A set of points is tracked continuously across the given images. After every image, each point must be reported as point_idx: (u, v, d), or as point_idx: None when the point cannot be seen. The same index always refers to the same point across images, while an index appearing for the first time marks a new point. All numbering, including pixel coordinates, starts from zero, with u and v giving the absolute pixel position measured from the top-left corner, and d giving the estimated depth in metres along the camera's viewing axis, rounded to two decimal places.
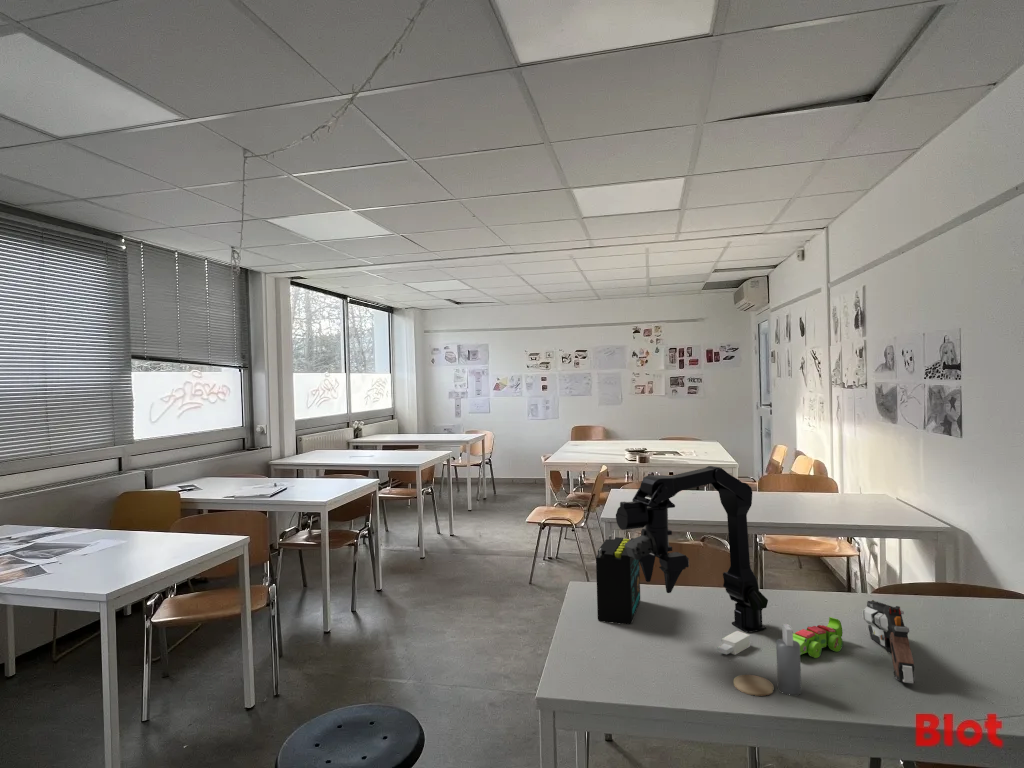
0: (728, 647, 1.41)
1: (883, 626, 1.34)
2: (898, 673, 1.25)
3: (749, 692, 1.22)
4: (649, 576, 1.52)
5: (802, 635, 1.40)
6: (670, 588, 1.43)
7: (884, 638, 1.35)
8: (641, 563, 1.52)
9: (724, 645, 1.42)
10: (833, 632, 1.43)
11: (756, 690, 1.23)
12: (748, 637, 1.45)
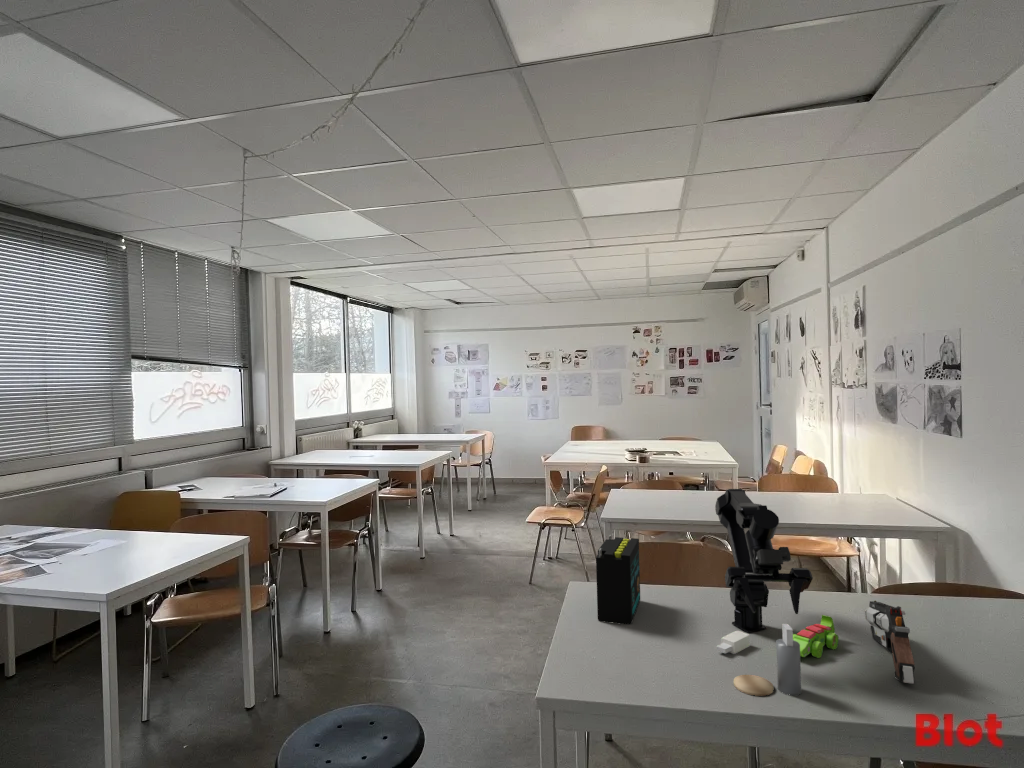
0: (727, 646, 1.41)
1: (884, 626, 1.34)
2: (898, 673, 1.25)
3: (749, 692, 1.22)
4: None
5: (804, 636, 1.39)
6: None
7: (885, 638, 1.35)
8: (747, 589, 1.35)
9: (723, 644, 1.42)
10: (829, 630, 1.44)
11: (756, 690, 1.23)
12: (748, 637, 1.45)
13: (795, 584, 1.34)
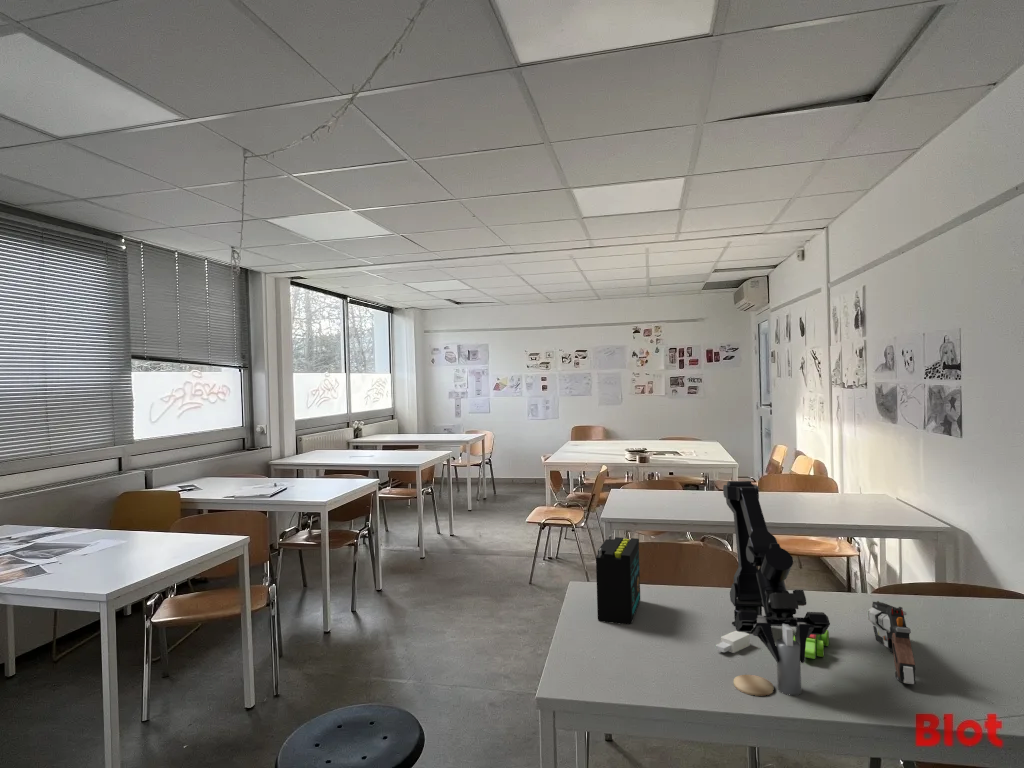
0: (726, 645, 1.42)
1: (886, 627, 1.33)
2: (899, 674, 1.24)
3: (749, 692, 1.22)
4: None
5: (809, 636, 1.39)
6: None
7: (887, 639, 1.35)
8: (770, 636, 1.25)
9: (722, 643, 1.43)
10: None
11: (756, 690, 1.23)
12: (748, 636, 1.45)
13: (801, 630, 1.25)
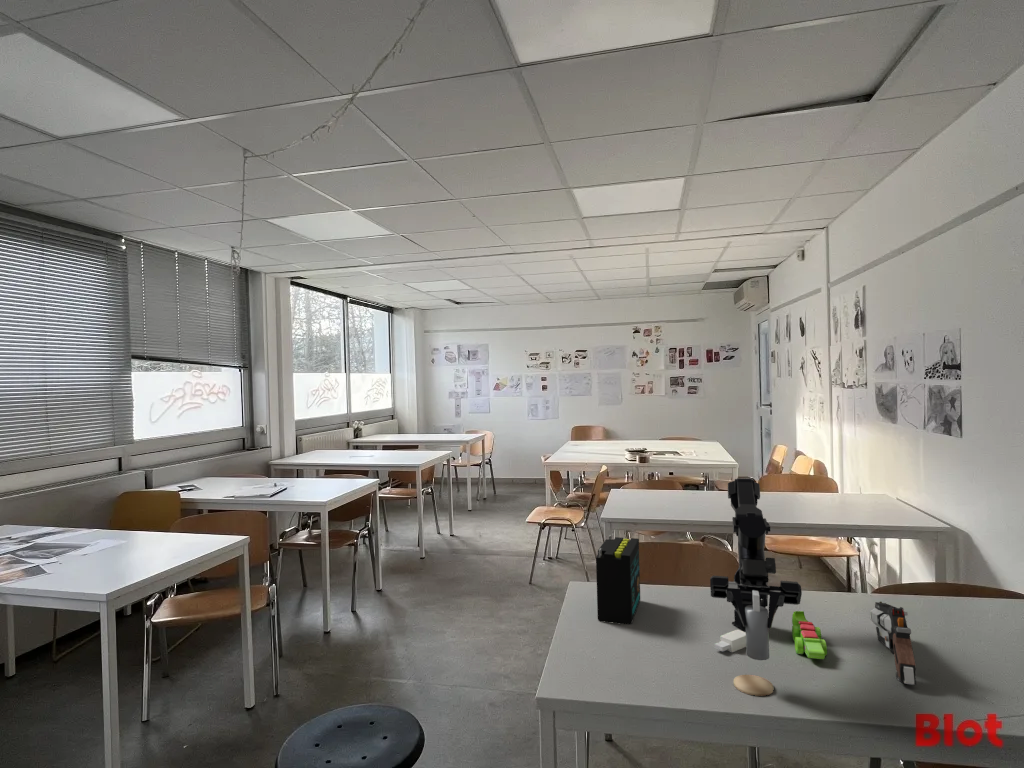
0: (725, 644, 1.42)
1: (887, 627, 1.33)
2: (899, 674, 1.24)
3: (749, 692, 1.22)
4: None
5: (813, 637, 1.39)
6: (771, 623, 1.24)
7: (888, 639, 1.35)
8: (739, 601, 1.27)
9: (721, 642, 1.43)
10: None
11: (756, 690, 1.23)
12: None
13: (771, 597, 1.26)
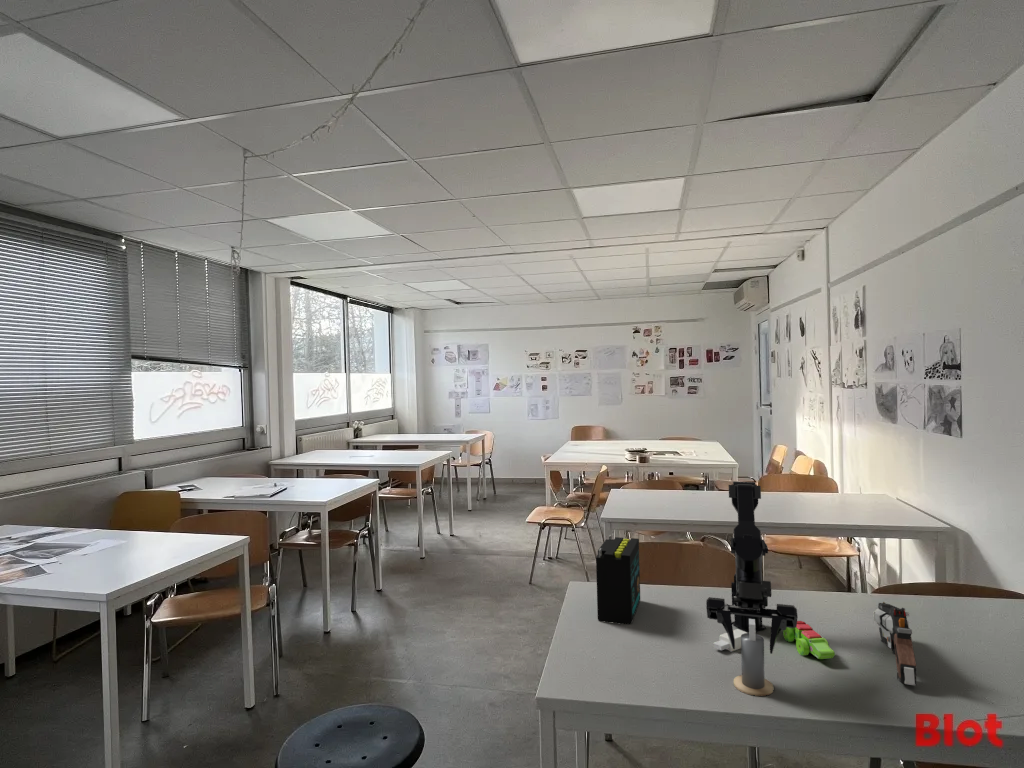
0: (724, 643, 1.43)
1: (888, 628, 1.33)
2: (900, 675, 1.24)
3: (749, 692, 1.22)
4: (734, 642, 1.27)
5: (816, 636, 1.39)
6: (773, 647, 1.24)
7: (890, 640, 1.34)
8: (729, 623, 1.28)
9: (721, 641, 1.44)
10: None
11: (756, 690, 1.23)
12: None
13: (773, 621, 1.25)
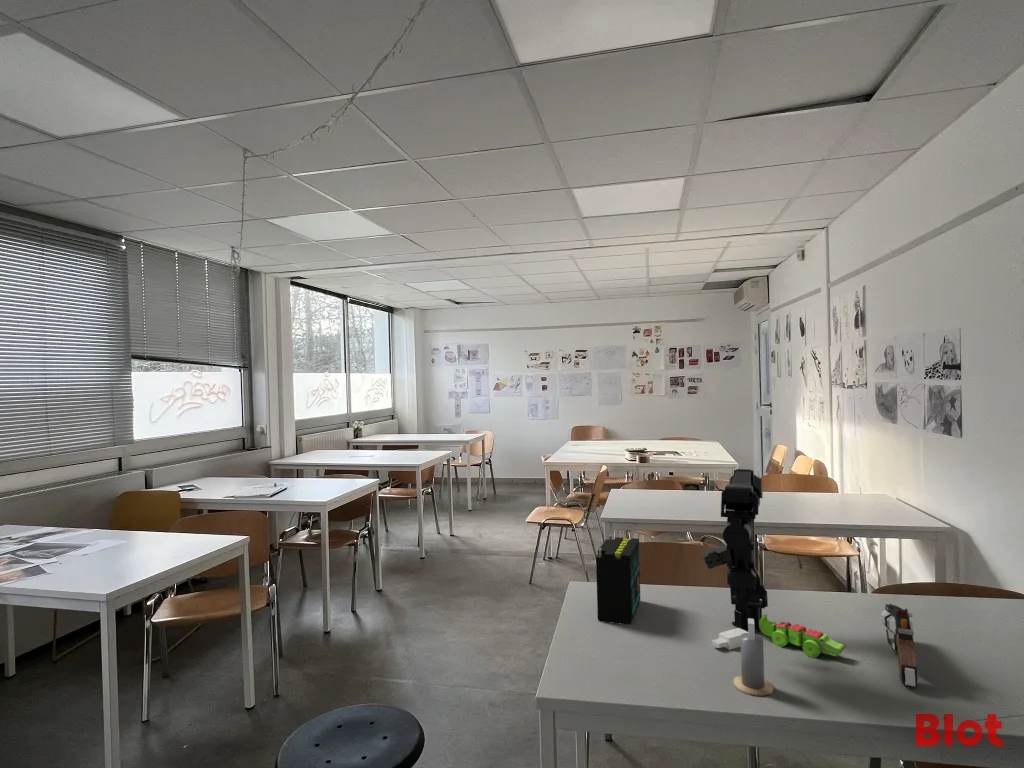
0: (722, 641, 1.44)
1: (891, 629, 1.32)
2: (901, 675, 1.24)
3: (749, 692, 1.22)
4: None
5: (821, 634, 1.40)
6: (743, 606, 1.34)
7: (894, 641, 1.34)
8: None
9: (719, 639, 1.45)
10: None
11: (756, 690, 1.23)
12: None
13: None
